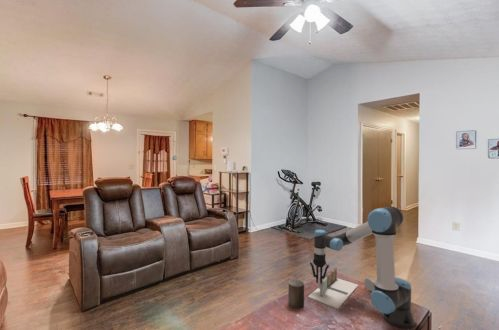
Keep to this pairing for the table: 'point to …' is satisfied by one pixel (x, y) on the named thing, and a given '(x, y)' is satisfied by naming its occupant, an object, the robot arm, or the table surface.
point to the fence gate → (323, 286)
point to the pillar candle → (296, 294)
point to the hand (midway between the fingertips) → (319, 287)
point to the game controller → (369, 284)
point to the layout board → (335, 293)
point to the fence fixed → (331, 277)
